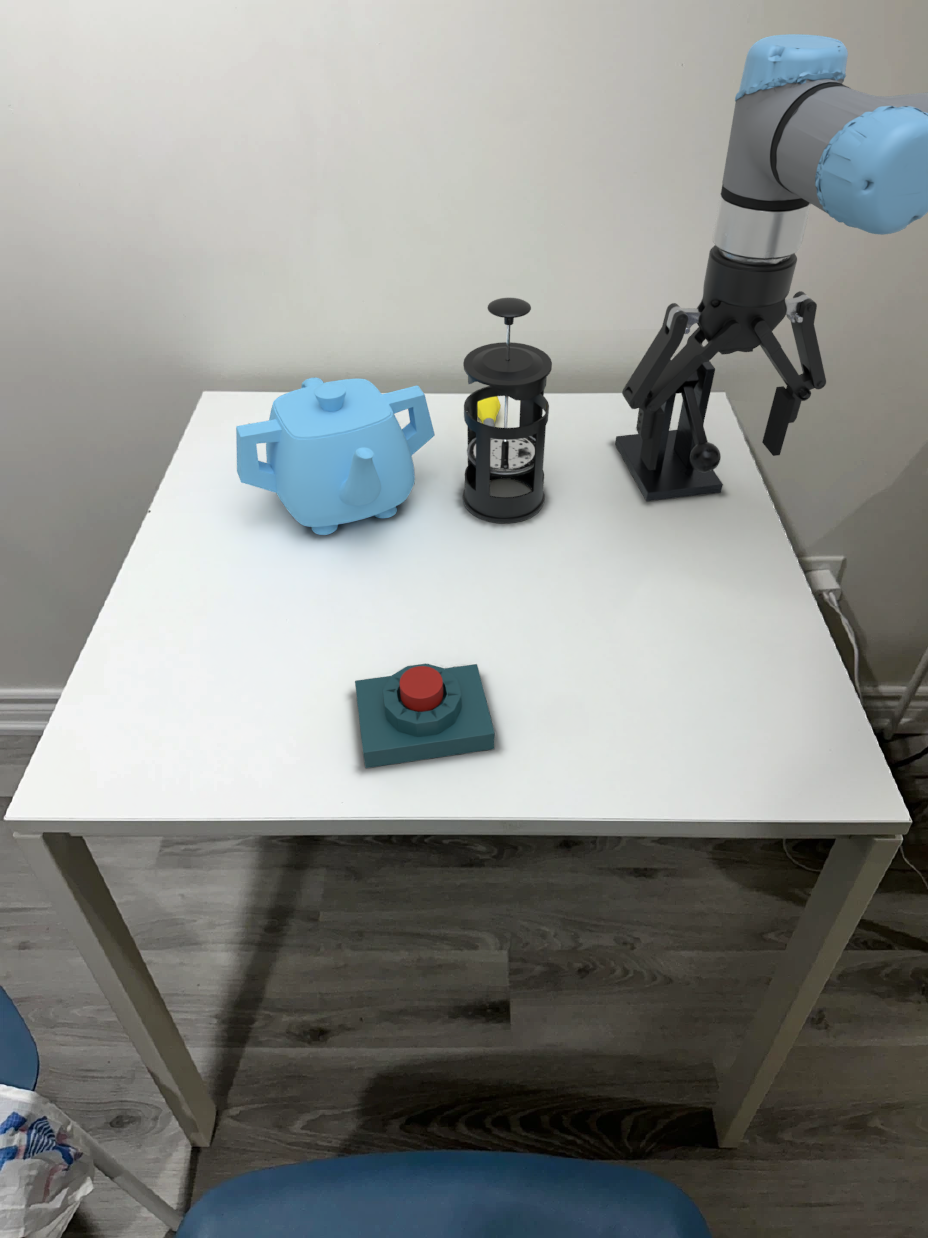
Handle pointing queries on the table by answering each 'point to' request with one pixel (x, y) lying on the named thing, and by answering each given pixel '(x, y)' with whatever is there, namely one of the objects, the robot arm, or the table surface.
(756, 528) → the table surface
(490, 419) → the light bulb
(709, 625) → the table surface
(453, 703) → the button box
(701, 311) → the robot arm
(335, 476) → the teapot
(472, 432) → the french press
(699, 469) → the switch lever
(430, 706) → the stop button
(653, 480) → the ball knob lever stand
